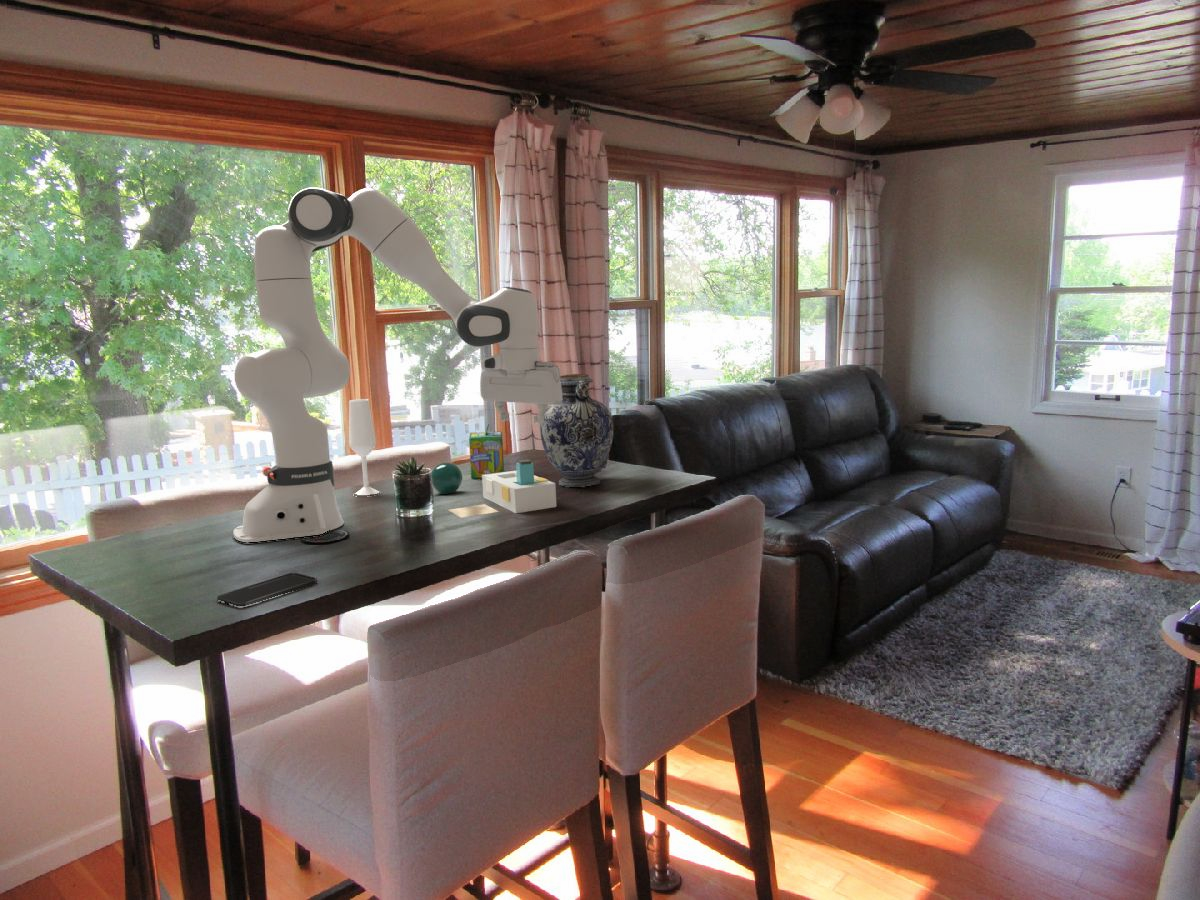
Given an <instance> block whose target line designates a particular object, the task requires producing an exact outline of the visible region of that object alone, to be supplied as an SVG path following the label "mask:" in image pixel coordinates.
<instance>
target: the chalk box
mask: <svg viewBox="0 0 1200 900" xmlns="http://www.w3.org/2000/svg"><path fill="white" fill-rule="evenodd" d="M489 426H490V421H487V424H486V429H485V431H482V432H481V431H474V432H469V438H468V440H469V441H468V443H469V445H468V446H469V459H470V479H471V480H474V479H482V475H487V474H494V473H501V472H505V462H504V445H503V444H504V441H503V440H504V439H503V432H502V431H489Z"/></svg>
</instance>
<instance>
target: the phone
mask: <svg viewBox="0 0 1200 900" xmlns="http://www.w3.org/2000/svg"><path fill="white" fill-rule="evenodd" d="M317 582H318V583H319V581H318V578H317V577H313V576H309V575H306V574H301V573H297V572H289V573H286V574H283V575H280V576H279V575H278V576H276V577H273V578H270V579H267V580H264V581H261V582H258V583H253V584H251V585H247V586H244V587H242V588H238V589H234V590H231V591H228V592H226V593H222V594H219V595H217V597H216V600H217V599H218V600H221V601H224V602H226V604H229V603H230V604H233V605H236V606H246V605H249V604H253V603H256V602H260V601H263V600H266V599H269V598H272V597H275V596H278V595H281V594H285V593H288V592H292V591H295V592H297V591H296V590H298V591H300V590H299V589H301V590H303V589H302V588H304V589H307V588H310V587H313V586H315V585H314V584H316V585H318V583H317ZM312 585H313V586H312ZM309 586H310V587H309ZM306 587H307V588H306ZM292 593H293V592H292ZM221 601H220V602H221Z"/></svg>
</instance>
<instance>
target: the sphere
mask: <svg viewBox="0 0 1200 900" xmlns="http://www.w3.org/2000/svg"><path fill="white" fill-rule="evenodd" d="M430 476H431V478H432V485H431V487H432V488H433V489H434V490H435V491H436V492H438V493H440V494H442V495H450V494H453V493H455V492H457V491H458V490H459V489H460V487H461V486H462V483H463V473H462V471H461V469H460V467H459V466H458V465H456V464H455V463H453V462H451V461H450V462H449V461H444V462H440V463H438V464H437V465H435V466H433V468H432V470H431V472H430Z"/></svg>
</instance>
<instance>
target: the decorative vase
mask: <svg viewBox="0 0 1200 900" xmlns="http://www.w3.org/2000/svg"><path fill="white" fill-rule="evenodd" d="M560 381H561V388H562V400H561V402H560V403H558V404H553V405H548V409H547V411H546V413H545V415H544V423H543V424H539V425H540V427H539V428H540V438H541V443H542V446H543V449H544V452H545V455H546V456H547V459H548V460H549V462H550V465H552V467H553V468H554V470H556V471H557V472H558V473H559V474H561V475H562V476H563V477H562V478H560V479H559V481H558V486H560V485H561V486H560V487H562V486H565V487H564V488H569V487H582V488H586V487H585V486H590V487H592V486H591V485H595V486H597V485H599V484H600V482H601V481H600V479H599V477H598V476H595V474H598V473H600V472H602V470H603V469H606V468H607V464H608V460H609V459H610V458H609V457H610V455H609V453H610V452H611V448H612V445H613V444H612V443H613V439H614V423H613V421H614V420H613V417H612V414H611V411H610V409H609V408H608V406H607V405H605V404H604V403H602V402H601V401H599V400H597V399H593V398H591V396H590V391H589V384H590V383H591V384H592V383H593V382H594V380H593V379H592V378H590V376H589V374H584V373H574V374H573V373H572V374H569V373H568V374H564V375H563V374H562V375H560ZM598 483H599V484H598ZM596 484H597V485H596Z"/></svg>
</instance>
